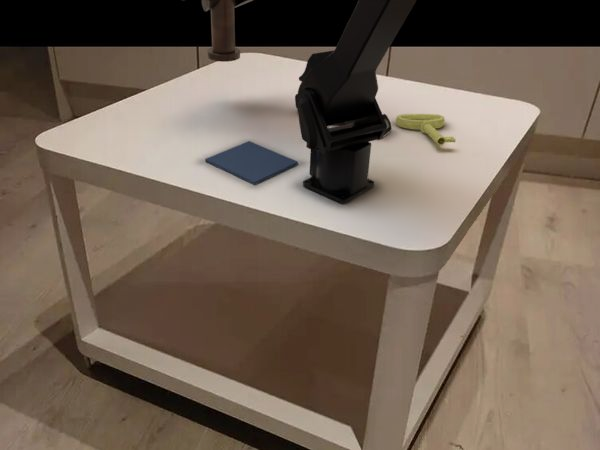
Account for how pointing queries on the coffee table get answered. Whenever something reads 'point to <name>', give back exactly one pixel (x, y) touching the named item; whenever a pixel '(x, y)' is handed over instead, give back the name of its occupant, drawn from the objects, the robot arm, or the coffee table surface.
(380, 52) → the robot arm
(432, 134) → the key
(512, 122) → the coffee table surface
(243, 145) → the napkin
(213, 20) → the shaving brush
